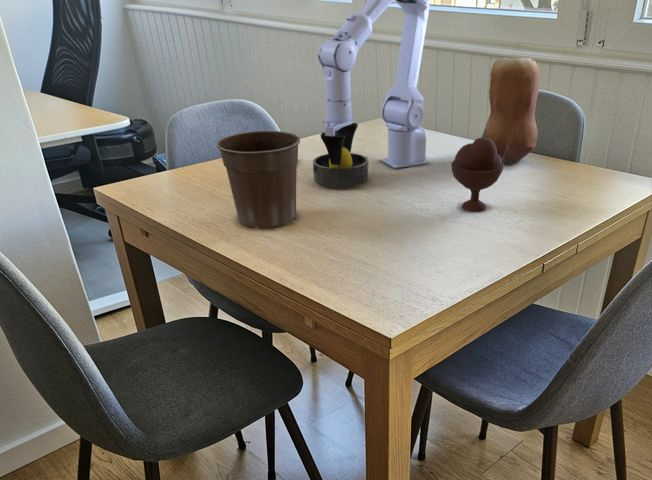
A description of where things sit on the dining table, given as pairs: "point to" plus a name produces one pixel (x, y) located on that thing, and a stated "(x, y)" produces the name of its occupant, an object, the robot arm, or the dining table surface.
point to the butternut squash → (513, 107)
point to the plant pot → (262, 176)
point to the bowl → (341, 172)
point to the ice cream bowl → (477, 170)
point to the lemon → (343, 160)
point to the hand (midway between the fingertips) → (340, 159)
